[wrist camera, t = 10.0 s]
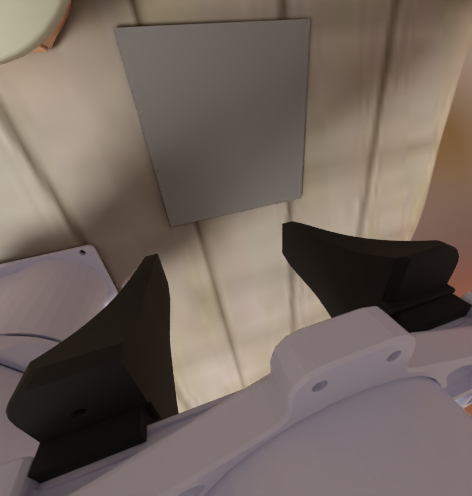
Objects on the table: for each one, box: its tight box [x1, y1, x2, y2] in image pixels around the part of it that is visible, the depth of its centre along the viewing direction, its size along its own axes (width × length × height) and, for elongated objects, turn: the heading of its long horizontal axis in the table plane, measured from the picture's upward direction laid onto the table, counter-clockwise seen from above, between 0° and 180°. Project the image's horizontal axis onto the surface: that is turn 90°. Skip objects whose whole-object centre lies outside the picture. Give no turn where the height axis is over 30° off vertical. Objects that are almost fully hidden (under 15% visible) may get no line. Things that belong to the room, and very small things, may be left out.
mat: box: [113, 19, 310, 227], centre depth 19 cm, size 14×14×1 cm
